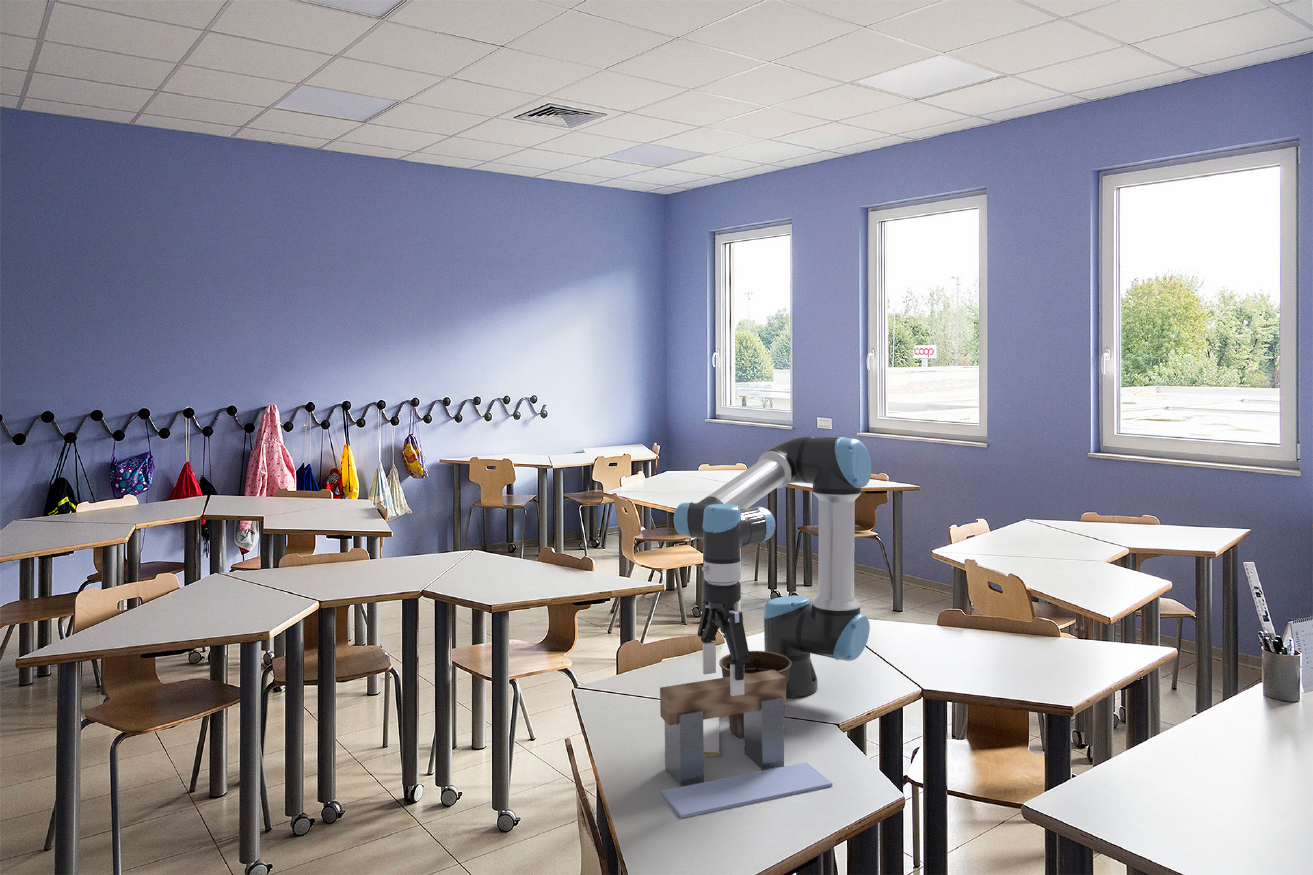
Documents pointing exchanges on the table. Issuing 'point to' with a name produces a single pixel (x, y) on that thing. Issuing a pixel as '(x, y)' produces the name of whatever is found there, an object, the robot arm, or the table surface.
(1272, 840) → the table surface
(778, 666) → the plant pot
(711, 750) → the baseboard molding
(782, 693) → the oak rail
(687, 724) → the stand
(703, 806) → the felt pad
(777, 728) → the stand
